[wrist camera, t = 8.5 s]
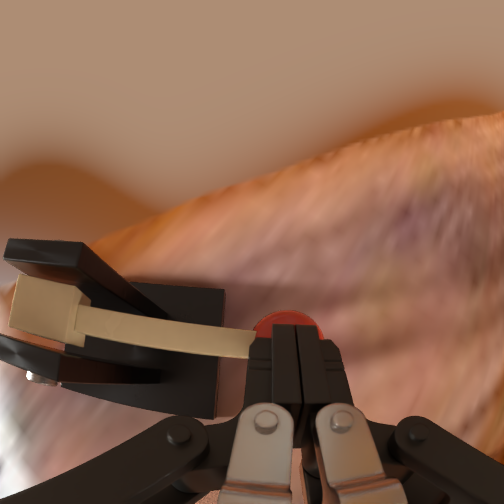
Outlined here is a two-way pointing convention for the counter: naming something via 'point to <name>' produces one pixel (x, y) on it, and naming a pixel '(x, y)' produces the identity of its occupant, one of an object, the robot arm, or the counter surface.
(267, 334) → the lever
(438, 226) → the counter surface
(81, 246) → the bracket
